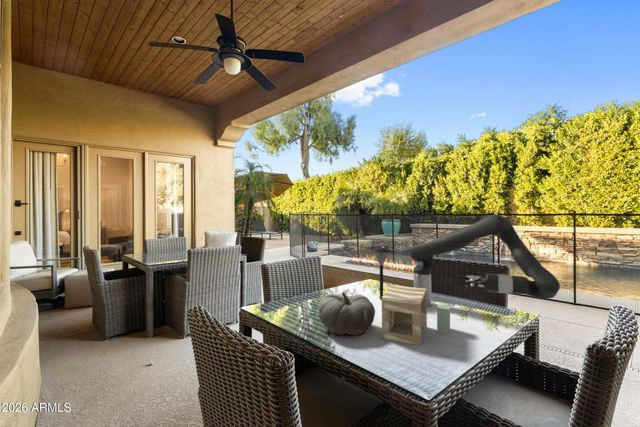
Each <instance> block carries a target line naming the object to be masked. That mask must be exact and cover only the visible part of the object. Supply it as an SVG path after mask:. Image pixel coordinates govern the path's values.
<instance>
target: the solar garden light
mask: <svg viewBox="0 0 640 427" xmlns="http://www.w3.org/2000/svg"><path fill="white" fill-rule="evenodd" d="M371 252H372V253H374V256H375V258H376V260H377V263H378V265H379V300H381V301H382V296H383V295H384V264H385V261H386V259H387V257H388V255H389V253H391V252H392V250H391V249H390V248H387V247H381V246H377V247H375V248H373V249H371V250H370V253H371Z"/></svg>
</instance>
